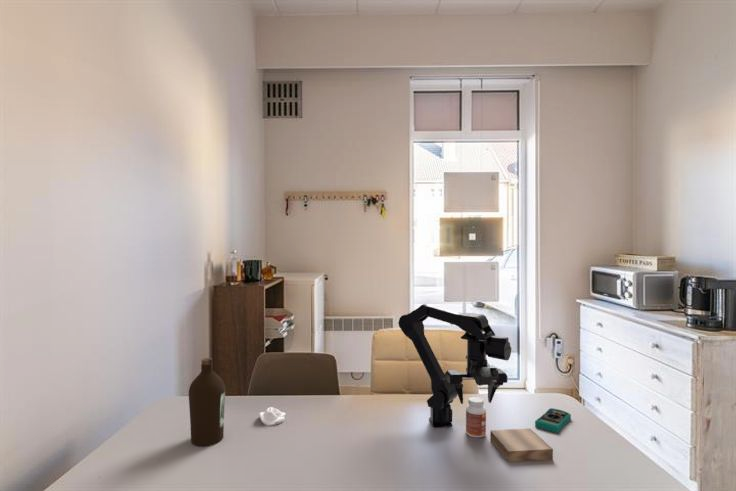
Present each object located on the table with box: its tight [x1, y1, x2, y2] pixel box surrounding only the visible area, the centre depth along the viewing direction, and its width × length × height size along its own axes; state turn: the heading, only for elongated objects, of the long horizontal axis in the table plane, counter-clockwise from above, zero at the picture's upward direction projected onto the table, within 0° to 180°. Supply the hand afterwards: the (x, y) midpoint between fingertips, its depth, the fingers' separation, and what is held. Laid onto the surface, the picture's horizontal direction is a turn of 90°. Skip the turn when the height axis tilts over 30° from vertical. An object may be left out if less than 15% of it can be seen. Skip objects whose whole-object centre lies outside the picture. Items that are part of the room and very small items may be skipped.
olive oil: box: [188, 357, 226, 447], centre depth 132 cm, size 11×11×25 cm
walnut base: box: [489, 428, 554, 463], centre depth 126 cm, size 13×13×3 cm
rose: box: [258, 406, 286, 427], centre depth 147 cm, size 10×4×10 cm
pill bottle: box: [465, 396, 487, 438], centre depth 136 cm, size 6×6×11 cm
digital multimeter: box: [534, 407, 572, 434], centre depth 144 cm, size 7×15×3 cm, turn 138°
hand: (475, 403), depth 136 cm, fingers open, 9 cm apart
